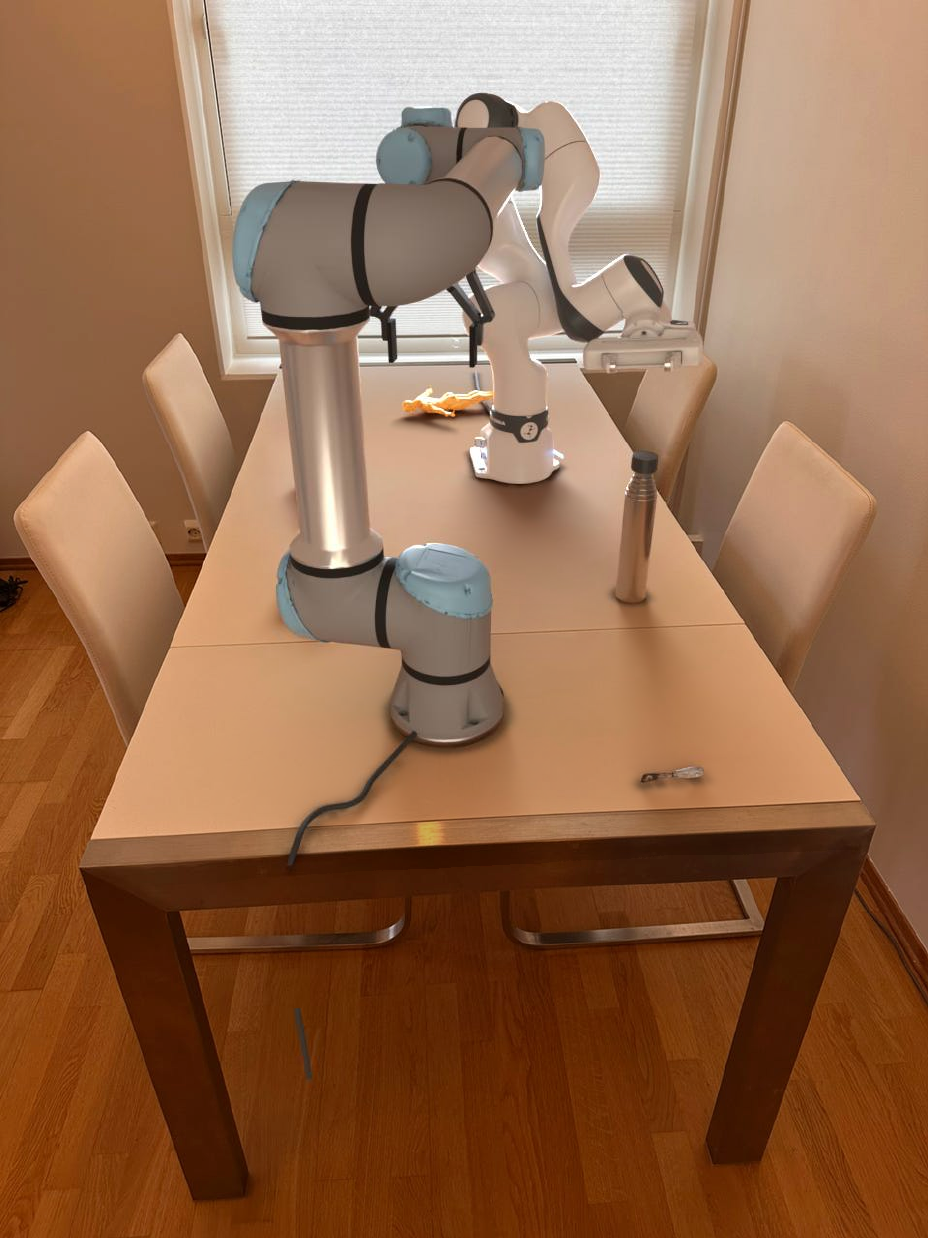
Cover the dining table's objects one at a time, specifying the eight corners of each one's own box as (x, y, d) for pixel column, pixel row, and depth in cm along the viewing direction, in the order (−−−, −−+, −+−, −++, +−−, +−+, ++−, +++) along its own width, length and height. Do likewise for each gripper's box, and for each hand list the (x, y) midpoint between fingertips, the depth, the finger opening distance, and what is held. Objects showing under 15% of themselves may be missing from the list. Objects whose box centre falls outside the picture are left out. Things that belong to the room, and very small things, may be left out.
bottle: (614, 601, 146) (627, 462, 133) (616, 586, 150) (629, 450, 137) (644, 604, 145) (661, 465, 132) (645, 589, 149) (661, 453, 136)
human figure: (395, 413, 223) (394, 398, 221) (438, 390, 237) (438, 375, 235) (462, 429, 215) (462, 413, 213) (502, 404, 229) (503, 388, 227)
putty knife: (703, 777, 109) (705, 767, 109) (642, 788, 108) (644, 777, 107) (700, 772, 110) (702, 762, 109) (639, 782, 109) (640, 771, 108)
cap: (630, 473, 134) (631, 459, 133) (631, 463, 137) (632, 449, 136) (656, 475, 134) (658, 461, 132) (657, 465, 137) (658, 451, 136)
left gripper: (514, 221, 136) (511, 360, 148) (358, 217, 141) (367, 352, 152) (506, 229, 130) (503, 373, 141) (343, 224, 135) (353, 365, 146)
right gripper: (585, 326, 160) (576, 351, 149) (704, 321, 155) (703, 346, 144) (587, 361, 163) (577, 388, 152) (702, 357, 158) (701, 384, 147)
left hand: (432, 363), depth 147 cm, fingers open, 13 cm apart
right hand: (639, 367), depth 148 cm, fingers open, 8 cm apart
